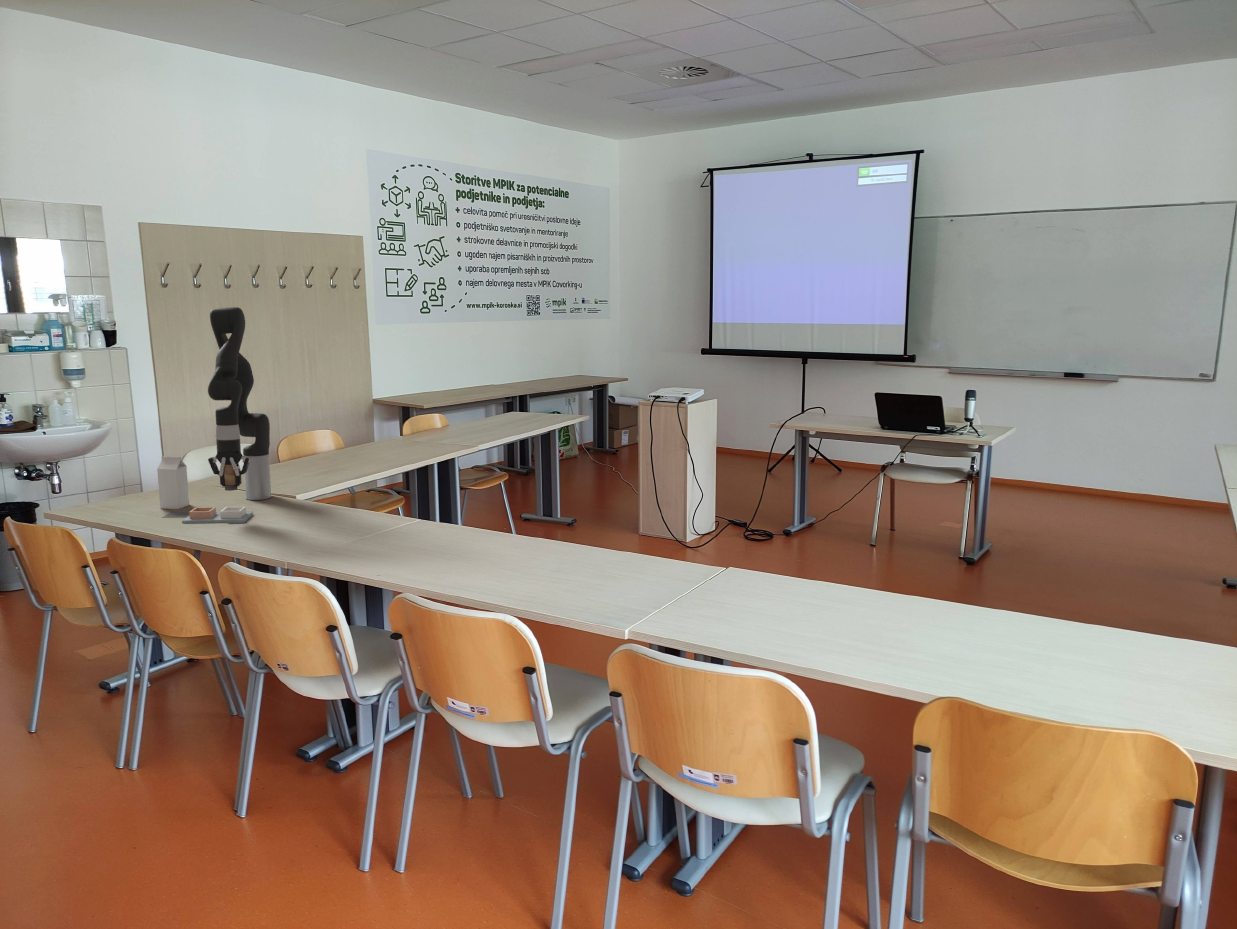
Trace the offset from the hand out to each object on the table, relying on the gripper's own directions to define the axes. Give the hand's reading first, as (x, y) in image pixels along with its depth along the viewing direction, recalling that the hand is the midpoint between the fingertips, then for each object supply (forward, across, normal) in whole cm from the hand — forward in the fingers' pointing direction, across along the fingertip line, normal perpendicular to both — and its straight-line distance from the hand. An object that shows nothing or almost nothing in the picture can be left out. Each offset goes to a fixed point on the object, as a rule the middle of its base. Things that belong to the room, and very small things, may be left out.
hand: (231, 485), depth 297 cm
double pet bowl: (+12, +5, 0) cm, 13 cm away
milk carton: (+12, +26, -20) cm, 35 cm away
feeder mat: (+12, +20, -7) cm, 24 cm away
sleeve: (+1, 0, 0) cm, 1 cm away
